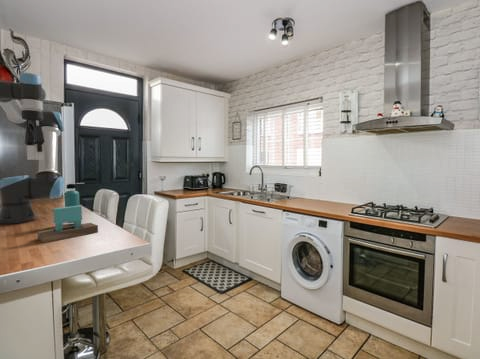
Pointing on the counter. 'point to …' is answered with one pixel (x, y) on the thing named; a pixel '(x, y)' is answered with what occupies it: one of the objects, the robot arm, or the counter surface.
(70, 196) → the beverage bottle
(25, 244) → the counter surface
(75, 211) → the notched teal block
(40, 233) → the rail
